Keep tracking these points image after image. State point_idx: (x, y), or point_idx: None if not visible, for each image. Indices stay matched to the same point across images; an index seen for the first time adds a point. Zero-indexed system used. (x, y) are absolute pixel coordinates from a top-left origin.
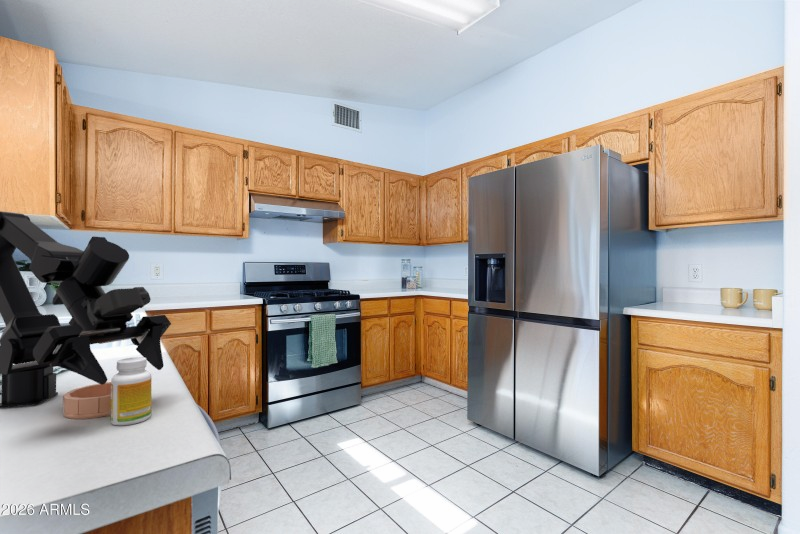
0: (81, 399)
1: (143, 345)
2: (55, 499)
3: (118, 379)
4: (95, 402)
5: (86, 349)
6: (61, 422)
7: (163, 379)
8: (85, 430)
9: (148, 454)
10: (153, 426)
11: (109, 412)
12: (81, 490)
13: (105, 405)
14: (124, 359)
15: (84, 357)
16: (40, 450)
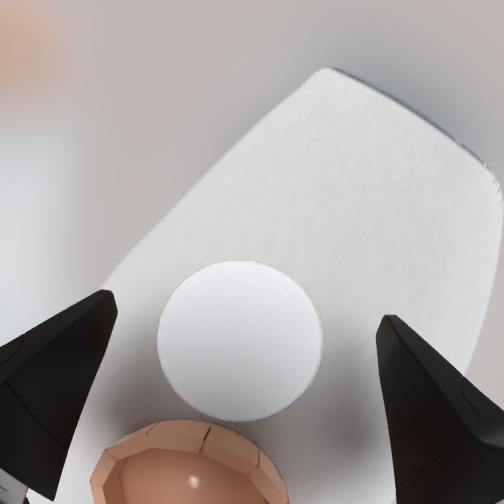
0: (284, 497)
1: (32, 456)
2: (478, 162)
3: (322, 329)
4: (264, 466)
5: (495, 436)
6: (308, 493)
7: None
8: (338, 386)
9: (373, 140)
10: (271, 237)
11: (236, 434)
12: (459, 150)
13: (243, 447)
14: (245, 397)
15: (489, 400)
16: None
